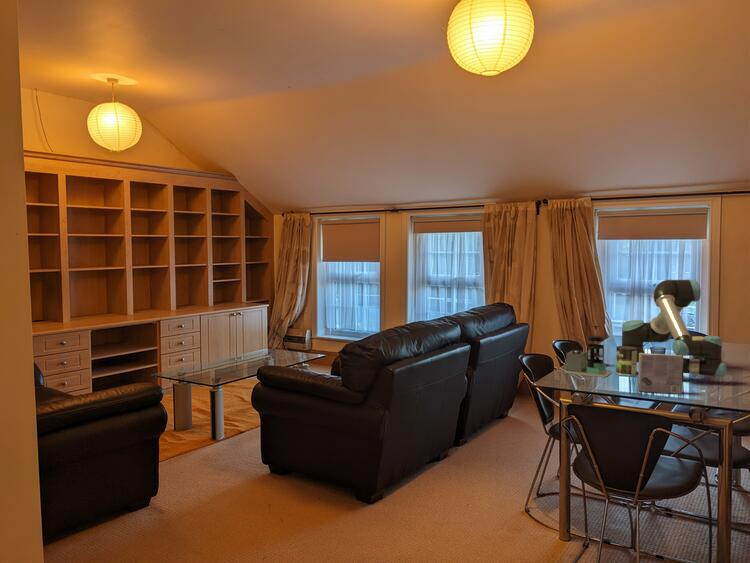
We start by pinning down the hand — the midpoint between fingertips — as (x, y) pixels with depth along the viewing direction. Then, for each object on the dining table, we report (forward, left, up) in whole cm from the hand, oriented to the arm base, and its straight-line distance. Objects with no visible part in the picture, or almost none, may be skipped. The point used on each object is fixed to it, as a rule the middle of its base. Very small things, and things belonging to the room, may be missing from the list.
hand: (644, 361), depth 307 cm
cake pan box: (+34, +13, -8) cm, 37 cm away
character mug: (-70, +17, -8) cm, 73 cm away
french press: (-11, -28, -8) cm, 31 cm away
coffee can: (0, -9, -8) cm, 11 cm away
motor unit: (+9, -26, -7) cm, 28 cm away
